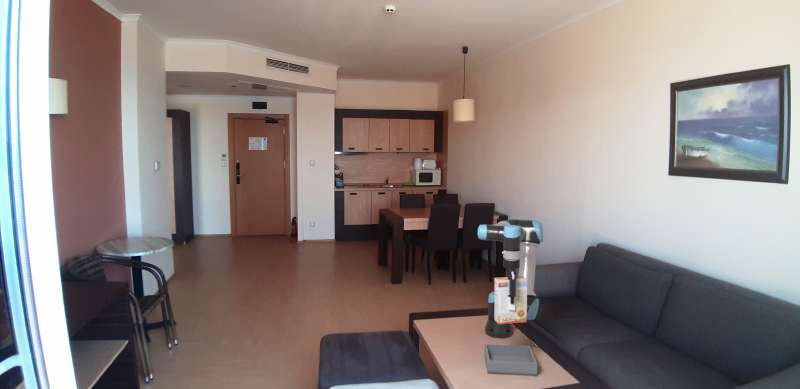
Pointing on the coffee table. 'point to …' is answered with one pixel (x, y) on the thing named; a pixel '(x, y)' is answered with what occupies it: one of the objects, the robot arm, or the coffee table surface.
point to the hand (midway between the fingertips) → (510, 306)
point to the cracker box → (502, 301)
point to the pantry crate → (510, 360)
